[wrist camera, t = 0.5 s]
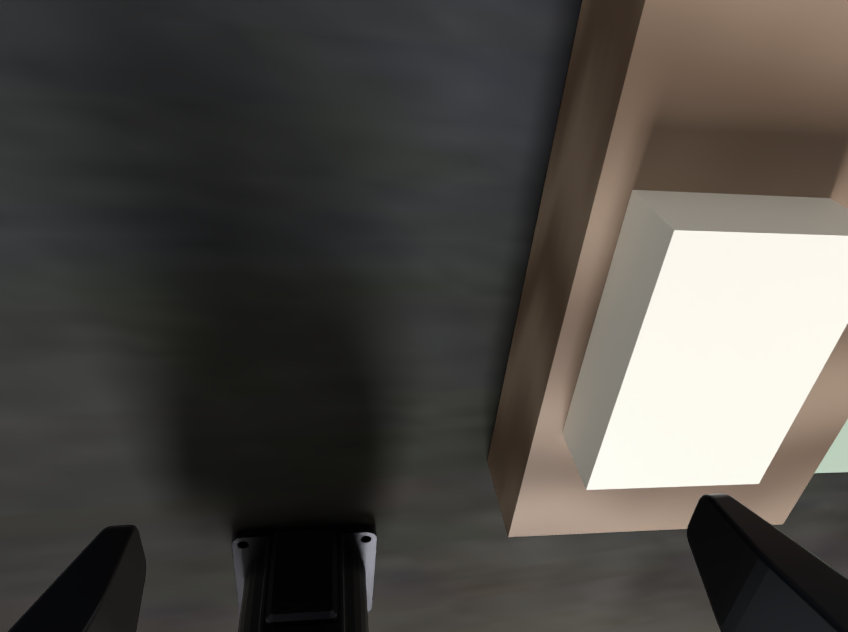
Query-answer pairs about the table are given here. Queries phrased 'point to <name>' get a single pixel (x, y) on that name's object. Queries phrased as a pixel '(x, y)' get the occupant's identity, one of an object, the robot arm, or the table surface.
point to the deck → (679, 172)
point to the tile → (707, 337)
